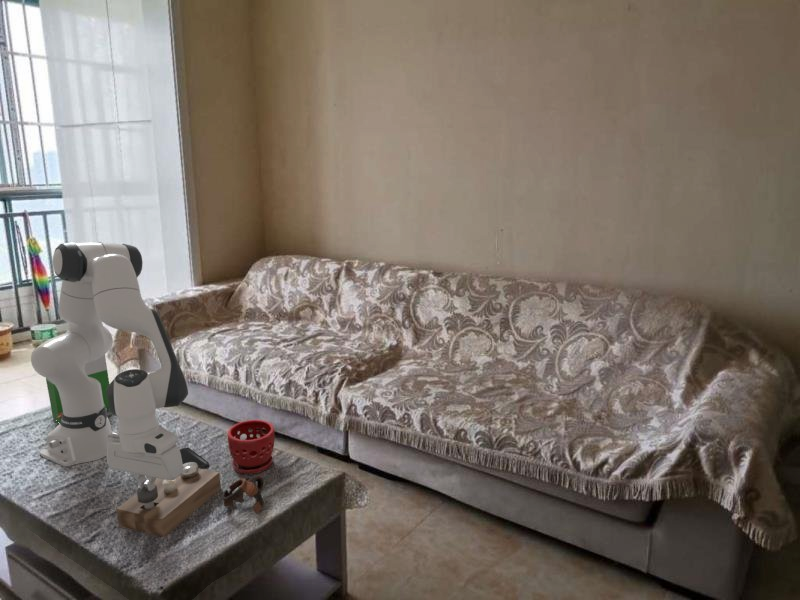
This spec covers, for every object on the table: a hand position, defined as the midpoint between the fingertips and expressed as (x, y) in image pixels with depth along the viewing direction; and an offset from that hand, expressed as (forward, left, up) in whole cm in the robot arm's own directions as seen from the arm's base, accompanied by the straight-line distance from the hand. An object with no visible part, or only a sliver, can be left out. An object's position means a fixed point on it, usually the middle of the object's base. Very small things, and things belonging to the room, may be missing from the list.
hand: (147, 488), depth 141 cm
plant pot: (+9, +31, -10) cm, 34 cm away
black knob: (0, 0, -7) cm, 7 cm away
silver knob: (0, +15, -9) cm, 17 cm away
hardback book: (-71, +44, -10) cm, 85 cm away
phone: (-12, +27, -10) cm, 32 cm away
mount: (0, +7, -10) cm, 12 cm away
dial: (0, +7, -5) cm, 9 cm away
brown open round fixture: (+18, +14, -10) cm, 25 cm away
